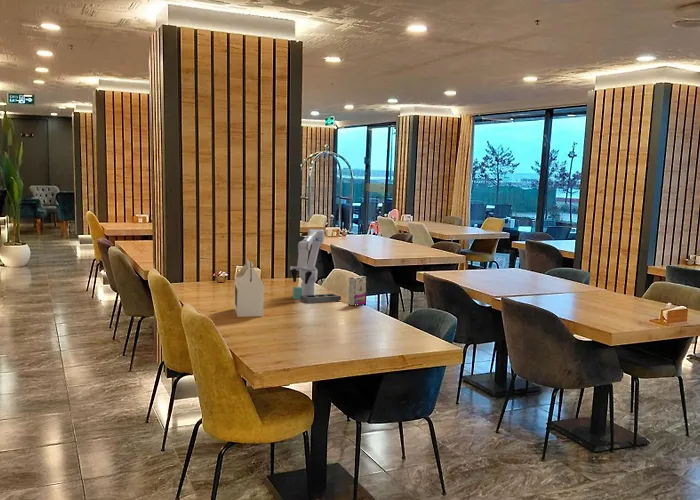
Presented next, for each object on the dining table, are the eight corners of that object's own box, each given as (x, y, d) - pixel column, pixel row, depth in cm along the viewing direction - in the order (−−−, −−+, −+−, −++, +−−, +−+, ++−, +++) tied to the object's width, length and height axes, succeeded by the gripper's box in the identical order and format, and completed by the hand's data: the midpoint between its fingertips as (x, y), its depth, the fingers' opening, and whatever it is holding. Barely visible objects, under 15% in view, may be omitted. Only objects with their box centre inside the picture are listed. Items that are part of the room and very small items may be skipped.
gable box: (263, 316, 329) (264, 263, 326) (237, 317, 326) (238, 263, 323) (258, 308, 350) (259, 258, 348) (234, 308, 347) (235, 258, 344)
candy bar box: (359, 302, 377) (360, 275, 375) (365, 304, 374) (366, 276, 372) (347, 305, 368) (348, 277, 366) (354, 306, 365) (355, 278, 363)
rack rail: (300, 300, 378) (300, 295, 378) (333, 298, 389) (333, 293, 389) (307, 303, 370) (307, 298, 369) (340, 301, 380) (340, 296, 380)
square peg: (292, 298, 384) (293, 287, 383) (298, 298, 386) (299, 286, 385) (295, 299, 380) (295, 288, 379) (301, 299, 382) (301, 287, 381)
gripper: (294, 258, 375) (292, 281, 373) (316, 262, 382) (313, 284, 380) (289, 259, 381) (287, 281, 379) (311, 262, 388) (308, 284, 386)
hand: (300, 282), depth 380 cm, fingers open, 7 cm apart
